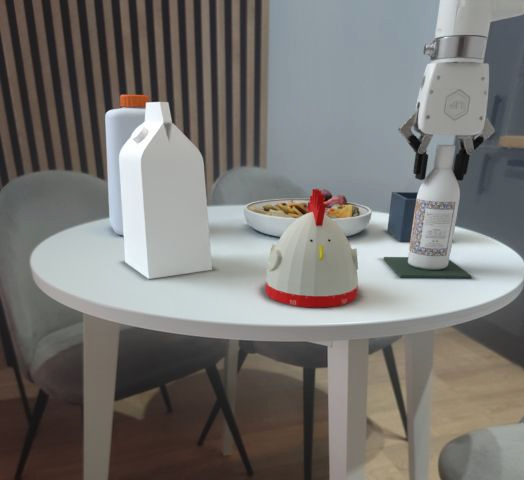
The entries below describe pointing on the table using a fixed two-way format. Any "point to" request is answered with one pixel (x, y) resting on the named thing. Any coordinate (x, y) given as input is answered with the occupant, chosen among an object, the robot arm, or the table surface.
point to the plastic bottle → (117, 134)
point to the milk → (163, 199)
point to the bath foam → (435, 214)
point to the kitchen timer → (313, 262)
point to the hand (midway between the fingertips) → (438, 178)
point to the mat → (408, 271)
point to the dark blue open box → (402, 215)
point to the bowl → (288, 210)
